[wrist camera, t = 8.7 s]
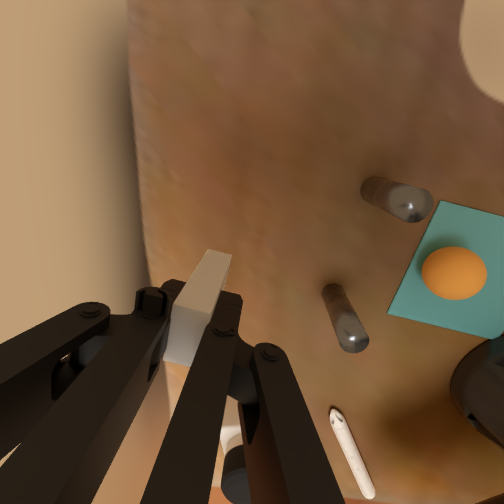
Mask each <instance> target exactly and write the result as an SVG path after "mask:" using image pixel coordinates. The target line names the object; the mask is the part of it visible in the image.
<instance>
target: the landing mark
mask: <svg viewBox="0 0 504 504" xmlns="http://www.w3.org/2000/svg"><path fill="white" fill-rule="evenodd" d="M444 247H462V248H465V249H468V250H470V251H472V252H474V253H475V254H477V255H478V256H479V257H480V258H481V259H482V261H483V262H484V264H485V267H486V270H487V278H486V282H485V284H484V286H483V288H482V289H481V290H480V291H479V292H478V293H477V294H475V295H473V296H471V297H469V298H466V299H462V300H450V299H445V298H442V297H439V296H437V295H436V294H434V293H433V292H431V291H430V290H429V289H428V288H427V286H426V285H425V283H424V281H423V278H422V266H423V263H424V261H425V260H426V258H427V257H428V256H429V255H430V254H431V253H433V252H434V251H436V250H438V249H441V248H444ZM387 314H391V315H395V316H399V317H403V318H407V319H411V320H415V321H420V322H424V323H428V324H432V325H436V326H440V327H444V328H448V329H452V330H456V331H460V332H464V333H468V334H472V335H476V336H480V337H484V338H488V339H494V338H497V337H500V335H501V334H502V332H503V331H504V217H502V216H499V215H495V214H491V213H487V212H483V211H480V210H476V209H472V208H468V207H464V206H460V205H457V204H453V203H449V202H445V201H441V200H440V201H439V204H438V206H437V208H436V210H435V212H434V214H433V216H432V218H431V220H430V222H429V225H428V227H427V229H426V231H425V233H424V235H423V237H422V239H421V241H420V243H419V246H418V248H417V250H416V252H415V254H414V256H413V258H412V260H411V262H410V265H409V267H408V269H407V271H406V273H405V275H404V277H403V279H402V281H401V283H400V286H399V288H398V290H397V292H396V294H395V296H394V298H393V300H392V302H391V304H390V307H389V309H388V311H387Z"/></svg>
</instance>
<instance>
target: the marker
mask: <svg viewBox="0 0 504 504" xmlns="http://www.w3.org/2000/svg"><path fill="white" fill-rule="evenodd" d="M330 423H331V426H332V428H333V430H334V432H335V434H336V437H337V439H338V441H339V443H340V446H341V448H342V450H343V452H344V454H345V457H346V459H347V461H348V463H349V465H350V468H351V470H352V472H353V474H354V476H355V479H356V481H357V483H358V485H359V488H360V490H361V492H362V494H363V495H364V497H365V498H367V499H372V498H374V496H375V488H374V486H373V484H372V481H371V479H370V477H369V474H368V472H367V470H366V467H365V465H364V463H363V460H362V458H361V456H360V453H359V451H358V449H357V446H356V444H355V442H354V439H353V437H352V435H351V432H350V430H349V428H348V425H347V423H346V421H345V418H344V417H343V415H342V414H341V413H340V412H339V411H337V410H336V409H332V410H331V413H330Z"/></svg>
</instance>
